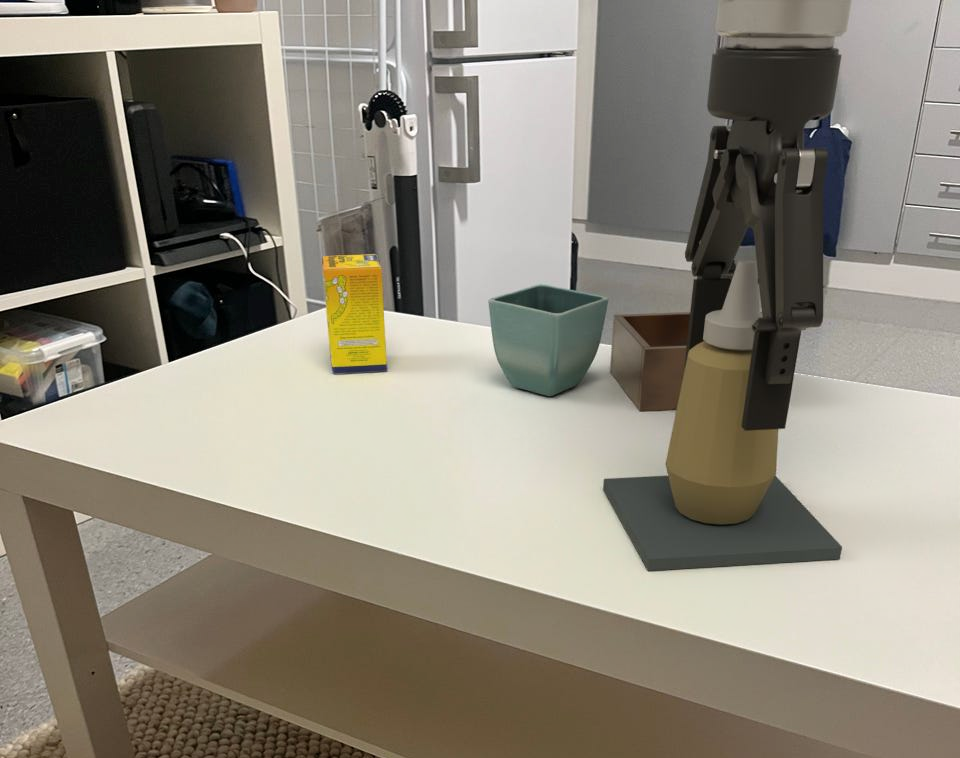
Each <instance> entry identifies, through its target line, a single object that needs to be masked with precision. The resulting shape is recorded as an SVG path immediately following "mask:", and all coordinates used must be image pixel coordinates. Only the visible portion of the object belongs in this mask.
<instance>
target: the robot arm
mask: <svg viewBox="0 0 960 758" xmlns="http://www.w3.org/2000/svg"><path fill="white" fill-rule="evenodd" d="M851 6H852V0H718V4H717V14H716V15H717V16H716V24H715V32H716V33H717V34H718V36H719V37H725V38H724V46H722V47H717V48H716V49H715V52H714V53H712V55H711V63H710V71H709V72H710V74H709V84H708V90H707V91H708V93H707V103H706V107H707V111H708V113H709V114H710V115H711V116H712V117H715V118H717V119H724V120H728V121H729V120H730V121H731V125H713V126H712V128H711V130H710V134H709V143H708V145H709V146H708V153H707V160H706V165H705V169H704V174H703V176H702V177H703V178H702V181H701V186H700V189H699V193H698V197H697V202H696V206H695V210H694V215H693V218H692V221H691V227H690V231H689V235H688V239H687V243H686V247H685V251H684V258H685V261H686V262H687V263H691V266H690V267H691V268H690V270H691V274H692V276H693V277H695V278H694V279H693V282H692V292H691V301H690V311H689V312H690V319H689V329H688V338H687V347H686V357H685V366H684V367H686V362H687V357H688V353H689V350H690V349H692V348H693V347H694V346H696V345H697V344H699V343H701V342H703V341H704V340H703V335H704V326H705V318H706V315H707V314H708V313H710V312H712V311H717V310H722V308H723V305H724V302H725V299H726V296H727V293H728V290H729V287H730V284H731V281H732V279H733V278H731V277H726V276H734V273H735V270H736V267H737V265H736V263H735V262H736V260H735V259H736V256H737V253H738V251H739V249H740V246H741V244H742V243H743V240H744V237H745V235H746V232H747V231H748V229H749V228H750V229H752V231H753V240H754V249H755V259H756V260H755V261H756V264H757V278H758V289H759V299H760V305H761V306H760V307H761V308H760V309H761V312H762V317H763V318H758V320H756V321H755V322H754V324H753V325H752V330H753V331H754V332H755V333H754V341H753V348H752V355H751V362H750V369H749V376H748V383H747V390H746V397H745V404H744V412H743V419H742V426H741V427H742V428H743V429H744V430H745V431H750V430H770V429H778V430H785V429H786V427H787V420H788V414H789V407H790V402H791V397H792V391H793V383H794V378H795V373H796V372H795V371H796V366H797V359H798V354H799V348H800V341H801V335H802V331H805V330H807V329H810V328H811V329H812V328H820V327H821V326H822V324H823V320H824V189H825V182H826V177H827V176H826V175H827V168H828V162H829V152H828V149H827V148H826V147H805V139H804V138H805V126H806V125H807V123H809V122H810V121H819V120H823V119H825V118H827V117H828V116H830V114H831V113H832V112H833V110H834V105H835V99H836V93H837V87H838V80H839V75H840V74H839V73H840V69H841V61H842V54H841V53H840V54H839V52H840V49H839V48H837V47H834V46H835V39H836V38H838V37H842V36H843V35H844V34H845V33H847V30H848V25H849V18H850V14H851V13H850V12H851ZM724 276H725V277H724Z"/></svg>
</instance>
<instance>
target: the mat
mask: <svg viewBox="0 0 960 758" xmlns="http://www.w3.org/2000/svg"><path fill="white" fill-rule="evenodd" d="M602 485H603V486H602V490H603V492H604V494H605V495H606V497H607V499H608V501H609V503H610V505H611V506H612V508H613V510H614V512H615V514H616V515H617V517H618V519H619V522H620V523H621V525H622V526H623V528H624V530H625V532H626V533H627V536H628V537H629V539H630V541H631V542H632V544H633V546H634V548H635V550H636V551H637V553H638V555H639V556H640V559H641V560H642V563H643V564H644V566H645V568H646V570H647V571H648V572H653V571H670V570H685V569H686V570H687V569H703V568H717V567H718V568H719V567H732V566H733V567H735V566H736V567H737V566H750V565H751V566H752V565H768V564H769V565H770V564H781V563H782V564H783V563H797V562H798V563H800V562H814V561H833V560H840V559H841V556H842V551H843V546H842V545H841V543H840V542H839V541H838V540H837V539H835V538H834V536H833V535H832V534H831V533H830V532H829V531H828V530H827V528H825V527H824V526H823V525H822V524H821V523H820V521H819V520H818V519H817V518H816V517H815V516H814V515H813V514H812V513H811V512H810V511H809V510H808V508H807V507H806V506H804V504H803V503H802V502H801V501H800V500H799V499H798V497H796V496H795V495H794V494H793V493H792V491H791V490H790V489H789V488H788V487H787V486H786V485H785V484H784V482H782V481H781V480H780V479H779V477H777V476H776V475H775V477H774V479H773V480H772V482H771V484H770V486H769V488H768V490H767V492H766V493H765V495H764V497H763V499H762V501H761V503H760V504H759V506H758V508H757V510H756V512H755V514H754V515H753V516H752V517H751V518H749V519H748V520H746V521H742V522H739V523H736V524H722V525H720V524H710V523H703V522H700V521H696V520H693V519H690V518H688V517H686V516H684V515H683V514H681V513H680V512H679V511H678V509H677V508H676V506H675V502H674V498H673V494H672V490H671V486H670V482H669V477H668V474H667V475H651V476H650V475H649V476H635V477H634V476H632V477H631V476H630V477H629V476H628V477H612V478H604V479H603V484H602Z"/></svg>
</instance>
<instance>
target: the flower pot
mask: <svg viewBox="0 0 960 758" xmlns="http://www.w3.org/2000/svg"><path fill="white" fill-rule="evenodd" d="M609 299H610V298H609V297H608V296H604V295H600V294H594V293H589V292H583V291H579V290H575V289H569V288H564V287H559V286H554V285H549V284H542V283H540V284H535V285H531V286H528V287H524V288H522V289H518V290H515V291H512V292H509V293H505V294H501V295H497V296H493V297H492V298H490V299H488V300H487V301H488V311H489V321H490V330H491V338H492V343H493V351H494V354H495V357H496V360H497V362H498V365H499V367H500V369H501V371H502V372H503V373H502V374H503V375H504V376H505V378H506V380H508V382H509V383H510V385H511V387H514V388H516V389H521V390H524V391H529V392H531V393H535V394H538V395H543V396H546V397H552V396H555V395H558V394H559V393H562V392H563V391H566V390H569V389H571V388H574V387H577V386H578V385H579V384H580V382H581V381H582V379H584V377H585V376H586V374H587V373H588V371H589V369H590V368H591V366H592V364H593V362H594V360H595V358H596V355H597V353H598V351H599V347H600V344H601V340H602V335H603V331H604V325H605V320H606V316H607V310H608V304H609Z"/></svg>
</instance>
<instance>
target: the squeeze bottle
mask: <svg viewBox="0 0 960 758" xmlns="http://www.w3.org/2000/svg"><path fill="white" fill-rule="evenodd" d="M734 272H735V273H734V275H732V278H731V279H732V281H731V284H730V287H729V290H728V293H727V296H726V299H725V302H724V305H723V308H722V310H717V311H712V312H710V313H708V314H707V315H706V318H705V326H704V335H703V340H704V341H703V342H701V343H699V344H697V345H696V346H694V347H693V348H692V349H690V350H689V353H688V357H687V362H686V367H685V372H684V376H683V381H682V386H681V391H680V396H679V401H678V405H677V410H675V416H674V420H673V424H672V430H671V435H670V439H669V445H668V450H667V453H666V459H665V464H664V465H665V469H666V473H667V475H668V477H669V482H670V486H671V490H672V494H673V498H674V502H675V506H676V508H677V509H678V511H679V512H680V513H681V514H683V515H684V516H686V517H688V518H690V519H693V520H696V521H700V522H703V523H710V524H720V525H722V524H736V523H739V522H742V521H746V520H748V519H749V518H751V517H752V516H753V515H754V514H755V512H756V510H757V508H758V506H759V504H760V503H761V501H762V499H763V497H764V495H765V493H766V492H767V490H768V488H769V486H770V484H771V482H772V480H773V479H774V477H775V476H776V475H777V463H778V448H779V447H778V446H779V445H778V444H779V429H770V430H750V431H745V430H744V429H743V428H742V427H741V426H742V419H743V412H744V404H745V397H746V390H747V383H748V376H749V369H750V362H751V355H752V348H753V341H754V333H755V332H754V331H753V330H752V325H753V324H754V322H755V321H756V320H758V318H763V317H762V311H761V308H760V307H761V306H760V292H759V279H758V269H757V260H754V259H745V258H741V259H738V261H737V265H736V270H735V271H734Z"/></svg>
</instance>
